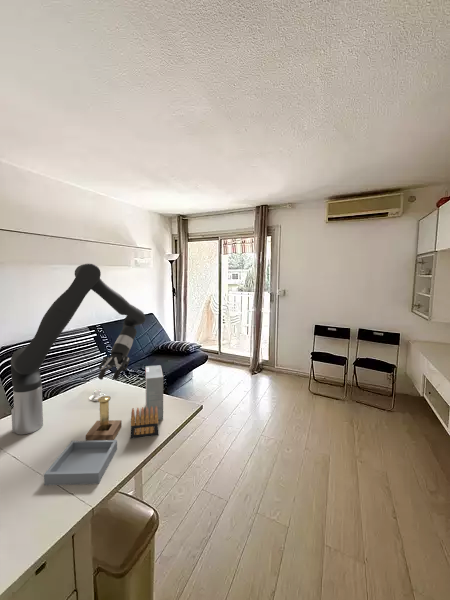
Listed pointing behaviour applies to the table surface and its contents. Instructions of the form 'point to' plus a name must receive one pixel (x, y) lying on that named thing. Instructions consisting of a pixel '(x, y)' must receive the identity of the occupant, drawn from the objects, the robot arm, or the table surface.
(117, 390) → the table surface
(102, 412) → the pin
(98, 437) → the socket block
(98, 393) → the white rounded piece
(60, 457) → the slate tray
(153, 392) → the hard drive box
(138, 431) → the ammunition clip
